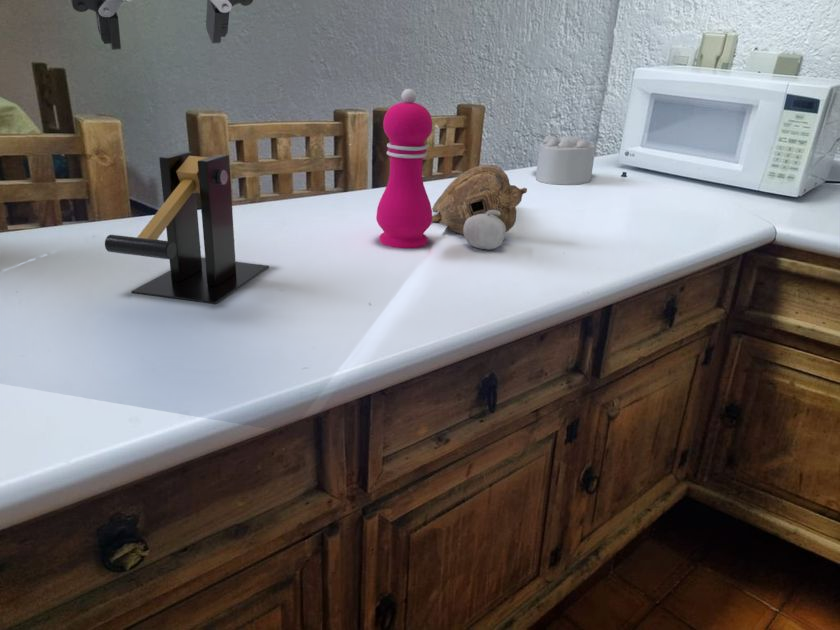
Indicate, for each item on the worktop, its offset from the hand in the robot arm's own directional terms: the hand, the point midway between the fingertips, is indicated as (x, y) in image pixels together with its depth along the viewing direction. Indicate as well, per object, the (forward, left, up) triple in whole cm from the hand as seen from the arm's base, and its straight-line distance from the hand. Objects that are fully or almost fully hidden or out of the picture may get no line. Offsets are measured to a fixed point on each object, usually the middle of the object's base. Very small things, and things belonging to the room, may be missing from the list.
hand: (164, 39), depth 58 cm
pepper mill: (+17, +24, -24) cm, 38 cm away
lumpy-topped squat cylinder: (+36, +87, -24) cm, 97 cm away
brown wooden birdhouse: (+25, +44, -24) cm, 56 cm away
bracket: (+1, +2, -24) cm, 24 cm away
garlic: (+27, +29, -24) cm, 46 cm away
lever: (+1, -2, -16) cm, 16 cm away
